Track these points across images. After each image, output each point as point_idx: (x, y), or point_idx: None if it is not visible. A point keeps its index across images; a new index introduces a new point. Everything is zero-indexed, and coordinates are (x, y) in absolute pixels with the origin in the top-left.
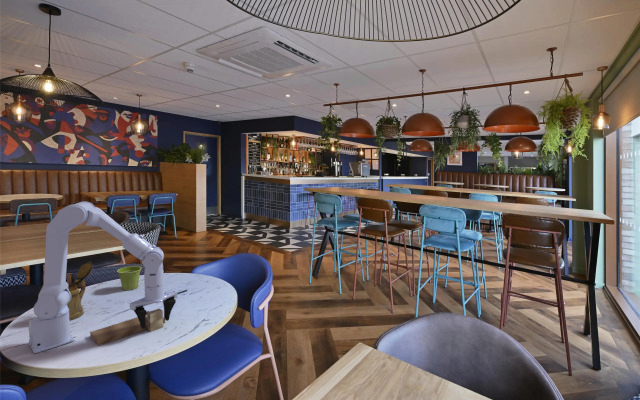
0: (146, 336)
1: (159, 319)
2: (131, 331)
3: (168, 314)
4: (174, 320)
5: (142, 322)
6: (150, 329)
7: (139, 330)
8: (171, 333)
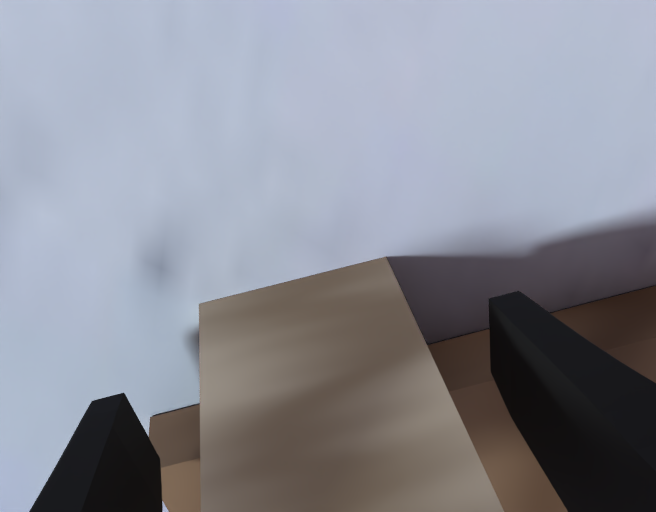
0: (479, 146)
1: (266, 409)
2: (618, 327)
3: (74, 492)
4: (9, 433)
5: (614, 360)
6: (397, 282)
7: None
8: (73, 5)
